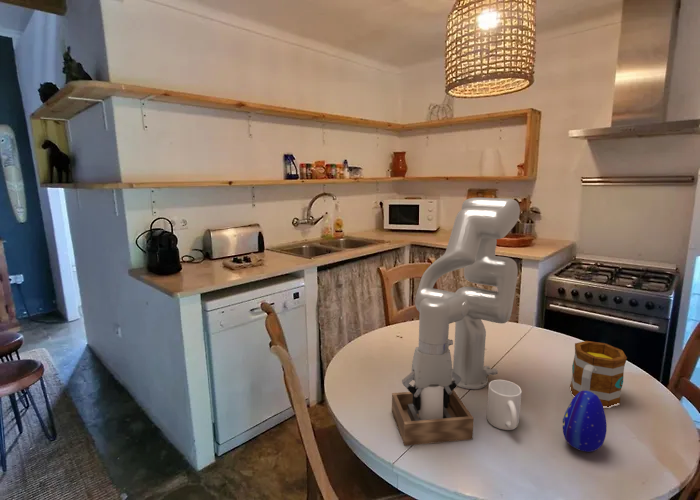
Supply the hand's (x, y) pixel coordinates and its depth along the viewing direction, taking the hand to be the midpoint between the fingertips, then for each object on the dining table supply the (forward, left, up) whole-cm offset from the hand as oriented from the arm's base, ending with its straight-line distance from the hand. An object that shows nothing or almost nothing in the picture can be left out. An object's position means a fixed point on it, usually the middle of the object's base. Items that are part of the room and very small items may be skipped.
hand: (430, 405), depth 104 cm
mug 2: (-52, -5, -6) cm, 52 cm away
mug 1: (-20, +3, -6) cm, 21 cm away
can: (0, 0, -5) cm, 5 cm away
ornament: (-35, +13, -6) cm, 38 cm away
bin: (0, 0, -6) cm, 6 cm away
